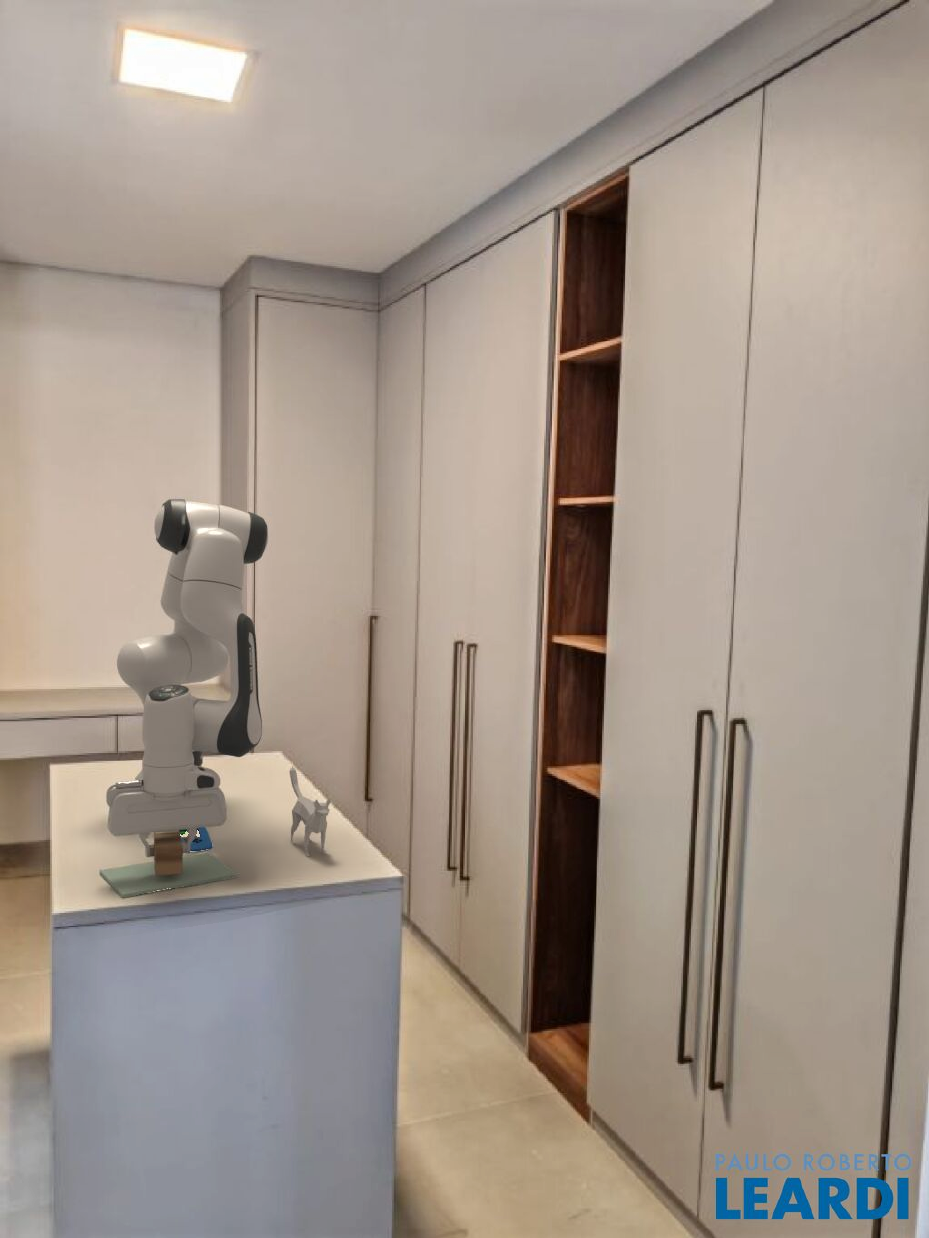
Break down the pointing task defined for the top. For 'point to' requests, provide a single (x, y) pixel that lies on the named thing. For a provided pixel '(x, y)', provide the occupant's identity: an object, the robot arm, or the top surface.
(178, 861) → the walnut block
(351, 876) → the top surface
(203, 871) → the rubber mat
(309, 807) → the cat figurine
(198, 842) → the handheld gaming device
